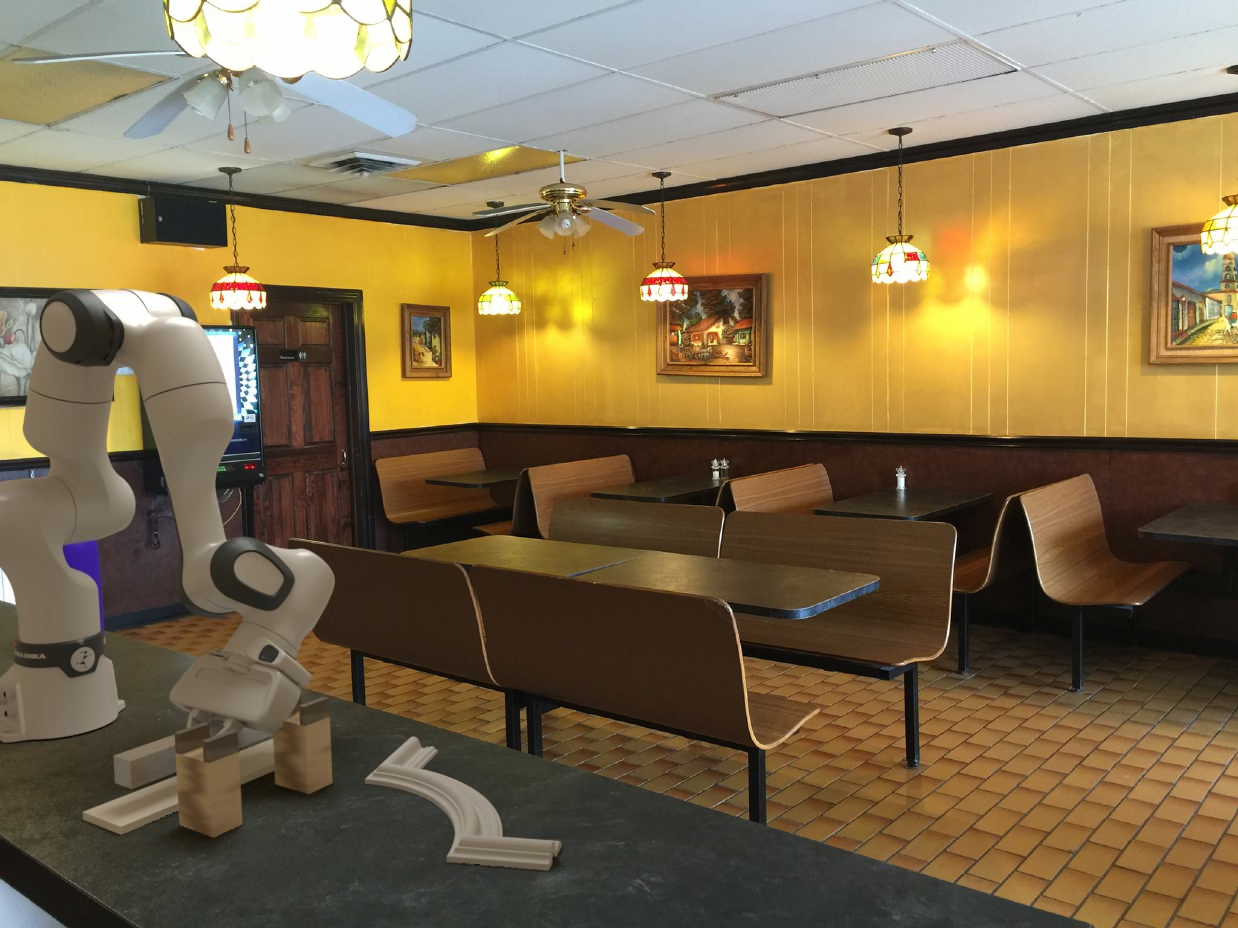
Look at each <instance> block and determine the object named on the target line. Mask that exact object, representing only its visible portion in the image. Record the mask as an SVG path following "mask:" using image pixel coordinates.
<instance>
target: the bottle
mask: <svg viewBox="0 0 1238 928" xmlns="http://www.w3.org/2000/svg"><path fill="white" fill-rule="evenodd" d="M99 550H100V549H99V545H98V540H93V541H87V542H82V543H76V544H70V545H64V546H63V554H64V557H65V560H66V562H67V564H68V565H69V567H70V568H73V569H76V570H78V571H81V572H83V573H85V574H87V575H89V576H90V577H91V578H92V579H93V580H94V581H95V583H96V584H97V587H98V596H99V612H100V628H101V629H102V630H103V631H104V632H105V619H104V618H105V617H104V602H103V601H104V599H103V588H102V586H103V584H102V574H101V571H102V570H101V561H100V559H101V558H100V551H99ZM105 636H106V635H104V637H105ZM105 638H106V637H105Z"/></svg>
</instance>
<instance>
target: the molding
mask: <svg viewBox="0 0 1238 928" xmlns="http://www.w3.org/2000/svg"><path fill="white" fill-rule="evenodd" d="M436 755H438V749H436V748H435V747H434V746H433V745H432V746H426V747H425V748H424V747H422V745H421V743H420V740H419V738H418V737H417V736H410V737H409V738H408V739H407V740H406V741H404V743H403V744H401V745H400V746H399V747H398V748H397V749H396V750H395V751H393V753H391V755H389V757H387V758H386V759H385V760H384V761H383V762H382V763H381V764H379V765H378V766H377V768H375V770H373V771H372V772H371V773H370V774H369V775H368V776H366V777H365V778H364V783H365V784H366V785H375V786H382V787H387V788H391V789H396V790H401V791H404V792H407V793H410V794H414V795H416V796H419V797H421V798H423V799H426V800H427V801H429V802H431V803H433V804H434V805H435V806H437V807H438V808H439V809H441V810H442V811H443V812H444V813H445V814H446V815H447V816H448V818H449V820H450V822H451V824H452V826H453V829H454V830H453V831H454V839H453V842H452V845H451V848H450V849H449V851H448V854H447V855H446V863H451V864H453V863H454V864H462V863H466V864H465V865H474V864H480V865H479V866H486V867H487V866H488V865H489V867H497V866H498V867H499V866H501V867H500V868H509V867H511V868H510V869H521V870H522V869H525V870H533V869H534V870H536V871H547V872H548V871H550V869H551V867H552V866H553V858H556V857H557V856H558V854H559V853H560V850H561V849H562V842H561V841H560V840H548V839H537V838H524V837H523V838H522V837H509V836H503V835H504V833H503V823H502V821H501V818H500V815H499V813H498V811H497V810H496V808H495V807H494V805H493V804H492V803H491V802H490V801H489V800H488V799H487V798H486V797H485V796H484V795H482V794H481V792H479V791H477V790H476V789H474V788H473V787H471V786H469V785H467V784H465V783H463V782H461V781H460V780H457V779H454V778H452V777H449V776H447V775H444V774H442V773H438V772H435V771H431V770H427V769H423V768H425V766H426V765H427V764H428V763H430V762H431V761H432V759H433V758H434V757H435V756H436ZM468 863H469V864H468ZM503 866H504V867H503ZM498 867H497V868H498ZM516 867H517V868H516Z"/></svg>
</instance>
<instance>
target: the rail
mask: <svg viewBox="0 0 1238 928" xmlns="http://www.w3.org/2000/svg"><path fill="white" fill-rule="evenodd" d="M207 723H208V724H209V727H210V736H211V737H214V736H215V735H217V734H218V733H219V732H220V731H221V730H222V729H223V728H224V727H225V726H223V724H224V722H223V721H220V720H216V719H214V720H213V721H210V722H209V721H208V722H207ZM270 737H273V734H267V733H264V732H260V731H256V730H253V729H249V728H245V727H244V728H243V730H242V731H241V733H240V734H239V735H238V749H240V748H241V749H242V748H244V747H246V746H249V745H251V744H254V743H257V742H259V741H262V740H264V739H267V738H270ZM175 753H176V749H175V734H171V735H169V736H166V737H163V738H161V739H157V740H155V741H152V742H149V743H146V744H143V745H141V746H137V747H135V748H132V749H128V750H126V751H123V752H121V753H117V754H114V755H113V756H112V757H113V769H114V770H113V772H114V783H115V784H116V785H120V786H122V787H125V788H126V789H127V788H128V789H129V790H133V789H137V788H139V787H142V786H144V785H147V784H149V783H152V782H154V781H157V780H159V779H162V778H164V777H168V776H170V775H173V774H177V771H176V754H175Z"/></svg>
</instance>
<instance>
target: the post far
mask: <svg viewBox="0 0 1238 928" xmlns="http://www.w3.org/2000/svg"><path fill="white" fill-rule="evenodd" d="M302 703H303V702H302V693H301V694H300V698H299V700H298V702H297V704H296V706H295V708H294V709H293V711H292V713H291V715H290V716H289V718H288V719H286V720H283V727H282V728H281V729H280V730H278V731H277V732H275V733H274V734H273V735H272V739H273V745H274V766H275V771H274V779H275V780H274V782H275V785H276V786H280V787H282V788H283V787H284V788H287V789H290V790H293V791H297V792H299V793H303V794H307V795H310V794H312V793H314V792H317V791H319V790H321V789H323V788H325V787H327V786H330V785H331V784H333V762H332V761H333V760H332V740H331V720H330V719H331V718H330V700H329V697H326V696H322V697H319V698H317V699H313V700H311V701H308V702H306V703H303V704H302Z"/></svg>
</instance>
